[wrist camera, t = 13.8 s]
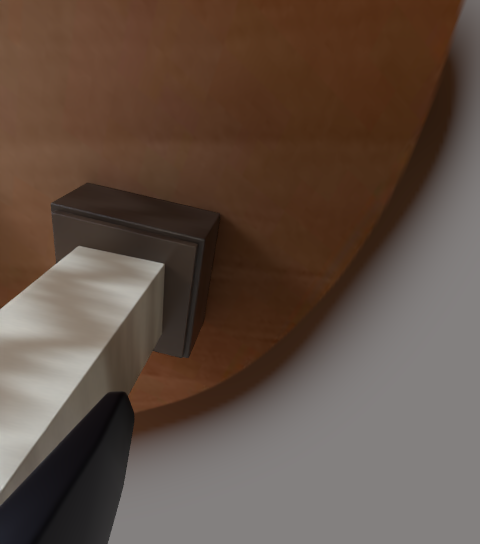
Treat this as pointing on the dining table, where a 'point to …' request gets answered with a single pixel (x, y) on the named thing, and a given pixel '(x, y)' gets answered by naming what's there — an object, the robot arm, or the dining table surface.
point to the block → (71, 350)
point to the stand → (147, 249)
